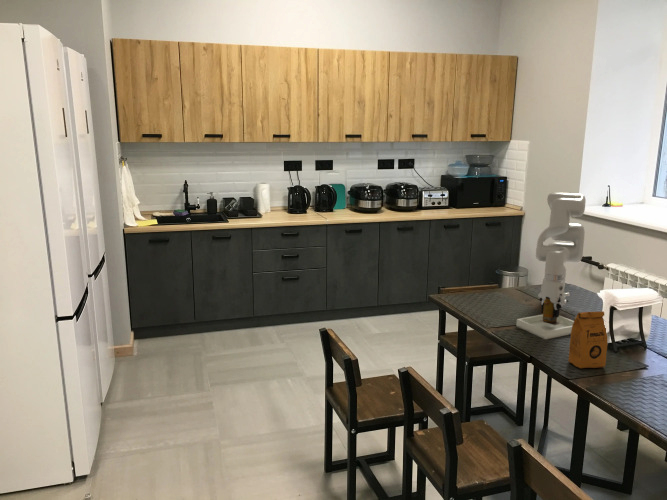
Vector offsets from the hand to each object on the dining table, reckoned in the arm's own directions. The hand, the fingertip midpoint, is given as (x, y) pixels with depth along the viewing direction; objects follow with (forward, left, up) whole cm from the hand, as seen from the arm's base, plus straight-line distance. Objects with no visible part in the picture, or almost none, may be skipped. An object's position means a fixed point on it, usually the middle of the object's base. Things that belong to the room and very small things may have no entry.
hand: (550, 314), depth 259 cm
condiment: (0, +1, -3) cm, 3 cm away
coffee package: (+17, +36, -7) cm, 40 cm away
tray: (0, 0, -7) cm, 7 cm away
